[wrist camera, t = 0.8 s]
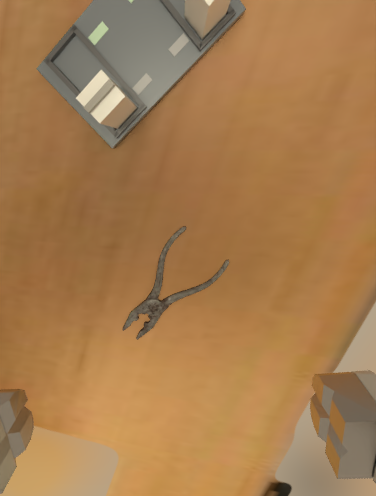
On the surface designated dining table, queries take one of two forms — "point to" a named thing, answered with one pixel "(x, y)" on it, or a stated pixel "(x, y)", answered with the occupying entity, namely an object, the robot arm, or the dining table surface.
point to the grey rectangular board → (130, 54)
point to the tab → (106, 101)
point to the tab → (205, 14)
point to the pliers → (158, 307)
